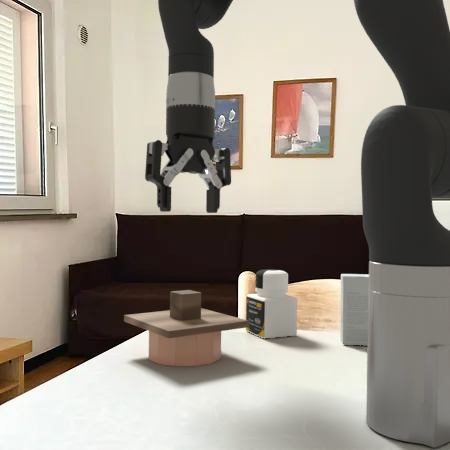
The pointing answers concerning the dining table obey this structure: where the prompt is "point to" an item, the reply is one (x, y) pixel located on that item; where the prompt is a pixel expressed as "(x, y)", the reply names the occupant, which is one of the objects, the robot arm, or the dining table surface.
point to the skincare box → (354, 309)
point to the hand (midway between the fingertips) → (189, 212)
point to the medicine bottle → (271, 306)
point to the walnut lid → (185, 318)
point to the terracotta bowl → (185, 349)
